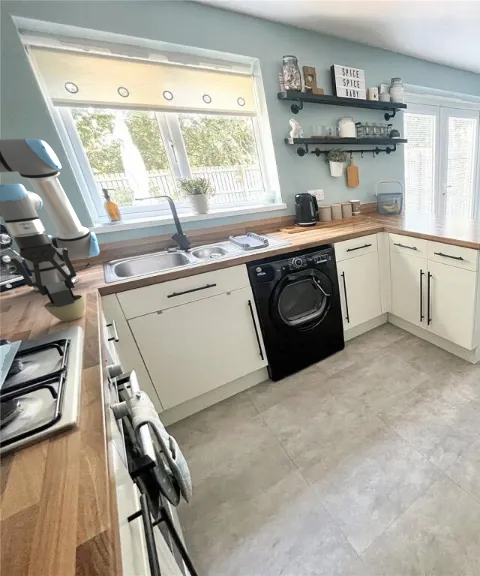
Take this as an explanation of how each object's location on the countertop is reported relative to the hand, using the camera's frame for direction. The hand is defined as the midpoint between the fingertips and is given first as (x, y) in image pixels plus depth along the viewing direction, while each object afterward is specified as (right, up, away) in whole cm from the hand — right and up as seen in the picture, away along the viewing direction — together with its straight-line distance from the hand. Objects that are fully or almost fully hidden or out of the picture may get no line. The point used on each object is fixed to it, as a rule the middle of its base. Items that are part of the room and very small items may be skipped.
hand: (63, 300), depth 108 cm
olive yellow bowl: (+1, -7, +3) cm, 8 cm away
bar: (0, 0, 0) cm, 0 cm away
